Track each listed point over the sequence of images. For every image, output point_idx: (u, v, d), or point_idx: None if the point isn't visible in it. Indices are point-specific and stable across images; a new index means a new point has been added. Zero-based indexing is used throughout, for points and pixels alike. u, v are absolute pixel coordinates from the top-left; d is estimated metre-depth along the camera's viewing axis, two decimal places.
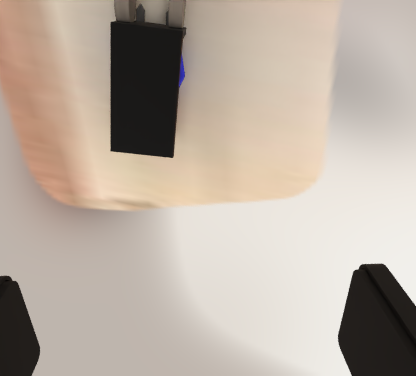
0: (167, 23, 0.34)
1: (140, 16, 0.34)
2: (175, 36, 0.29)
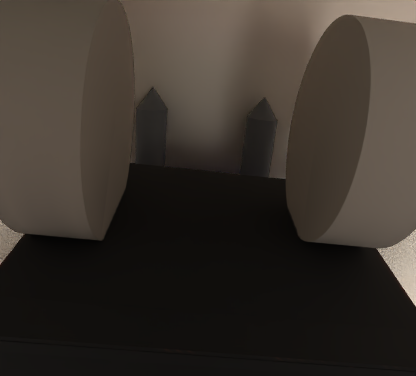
0: (250, 154, 0.09)
1: (150, 135, 0.09)
2: None
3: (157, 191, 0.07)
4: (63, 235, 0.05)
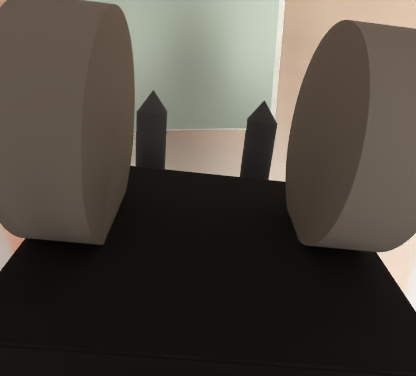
0: (250, 157, 0.09)
1: (150, 138, 0.09)
2: None
3: (157, 194, 0.07)
4: (64, 240, 0.05)
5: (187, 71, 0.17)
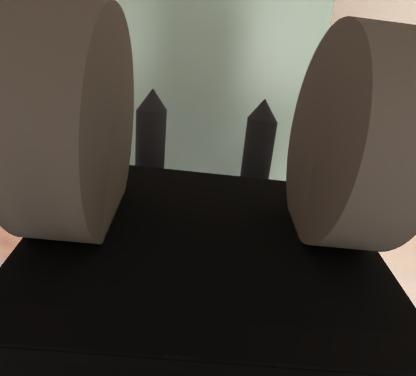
0: (250, 156, 0.09)
1: (149, 136, 0.09)
2: None
3: (157, 193, 0.07)
4: (62, 239, 0.05)
5: None
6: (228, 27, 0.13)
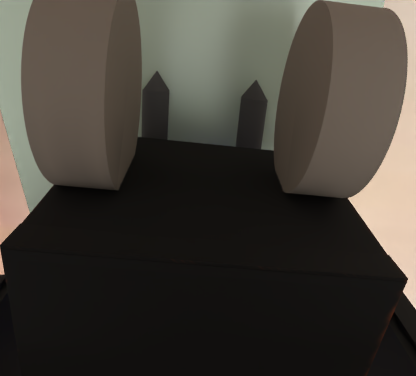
0: (244, 131, 0.10)
1: (154, 113, 0.10)
2: (360, 301, 0.05)
3: (162, 157, 0.08)
4: (86, 183, 0.06)
5: None
6: (239, 44, 0.10)
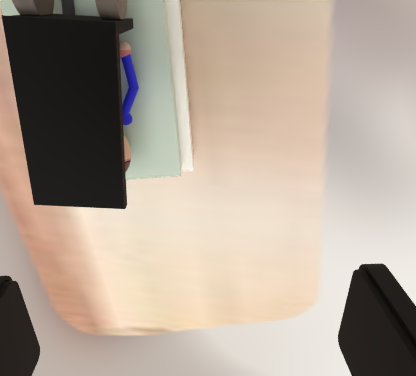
0: None
1: (67, 7, 0.23)
2: (105, 31, 0.19)
3: (63, 15, 0.22)
4: (28, 9, 0.20)
5: None
6: None
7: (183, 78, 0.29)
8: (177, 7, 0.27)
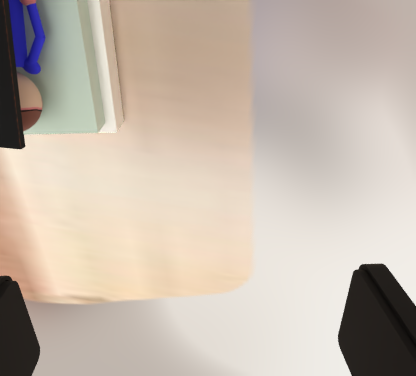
0: None
1: None
2: None
3: None
4: None
5: (42, 101, 0.30)
6: None
7: (102, 38, 0.31)
8: None
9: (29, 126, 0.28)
